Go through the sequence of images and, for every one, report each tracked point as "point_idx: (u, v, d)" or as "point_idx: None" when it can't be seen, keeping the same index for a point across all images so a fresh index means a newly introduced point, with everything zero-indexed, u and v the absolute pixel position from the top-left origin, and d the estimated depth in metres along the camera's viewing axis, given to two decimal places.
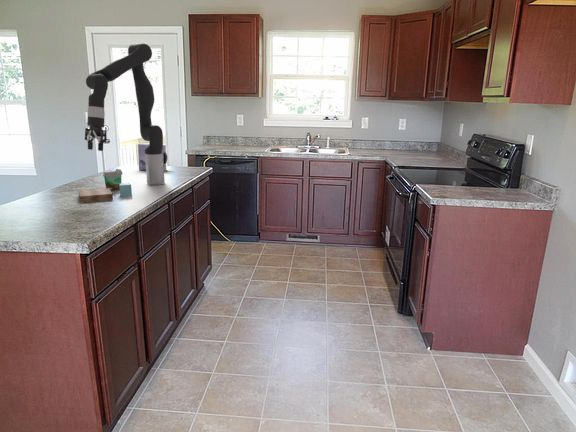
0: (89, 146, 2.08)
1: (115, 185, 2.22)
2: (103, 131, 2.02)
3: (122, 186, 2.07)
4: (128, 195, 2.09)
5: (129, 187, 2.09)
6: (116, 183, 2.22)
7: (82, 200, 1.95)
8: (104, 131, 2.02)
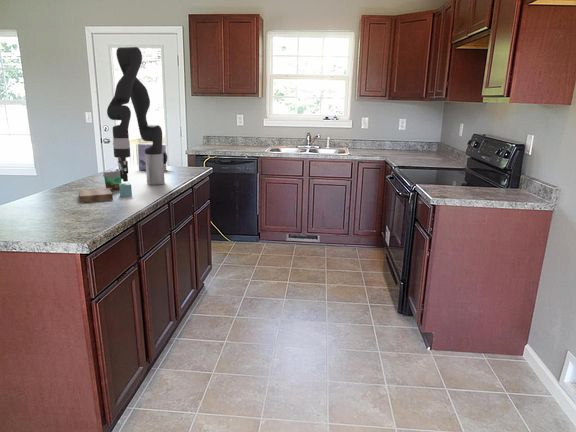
0: (121, 176, 2.11)
1: (115, 185, 2.22)
2: (123, 162, 2.00)
3: (122, 186, 2.07)
4: (128, 195, 2.09)
5: (129, 187, 2.09)
6: (116, 183, 2.22)
7: (82, 200, 1.95)
8: (125, 162, 2.01)
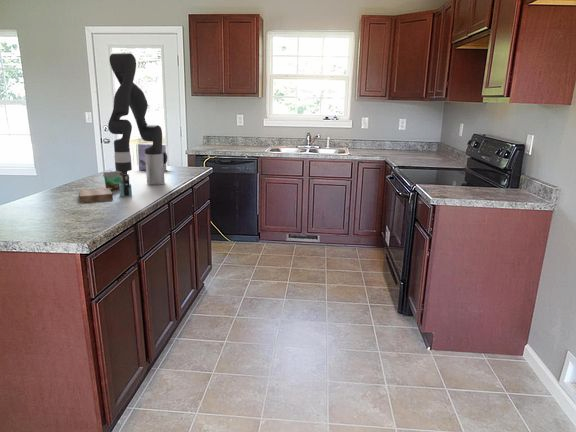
0: None
1: (115, 185, 2.22)
2: (125, 178, 2.03)
3: (122, 186, 2.07)
4: None
5: (129, 187, 2.08)
6: (116, 183, 2.22)
7: (82, 200, 1.95)
8: (126, 178, 2.03)
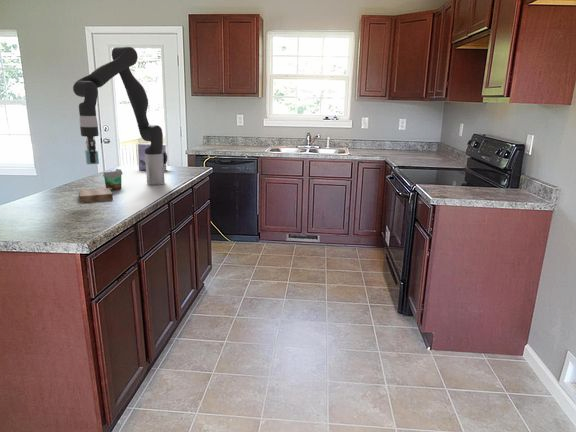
0: None
1: (115, 185, 2.22)
2: (91, 144, 1.92)
3: (88, 152, 1.96)
4: None
5: (95, 154, 1.97)
6: (116, 183, 2.22)
7: (82, 200, 1.95)
8: (92, 144, 1.92)
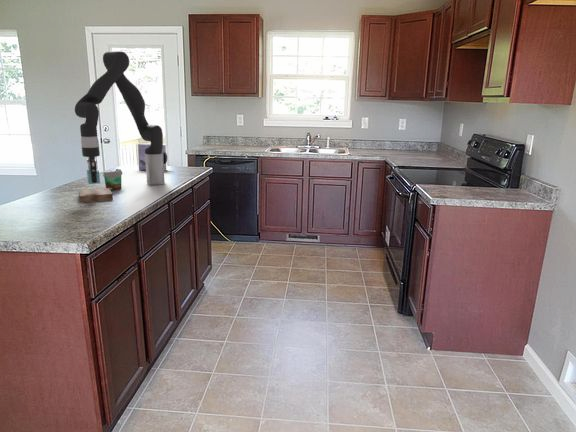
0: None
1: (115, 185, 2.22)
2: (92, 164, 1.94)
3: (89, 172, 1.98)
4: (96, 182, 2.00)
5: (97, 173, 2.00)
6: (116, 183, 2.22)
7: (82, 200, 1.95)
8: (93, 164, 1.94)
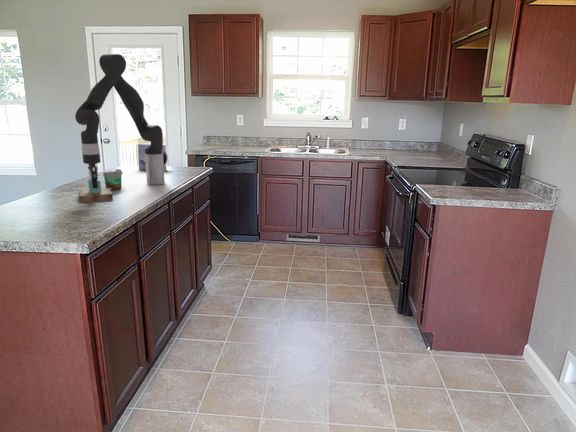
0: None
1: (115, 185, 2.22)
2: (92, 169, 1.95)
3: (90, 182, 1.99)
4: (97, 191, 2.02)
5: (98, 183, 2.01)
6: (116, 183, 2.22)
7: (82, 200, 1.95)
8: (94, 169, 1.95)
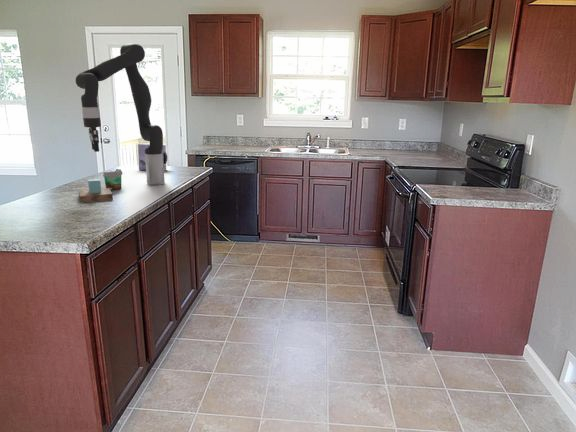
0: (93, 146, 2.09)
1: (115, 185, 2.22)
2: (94, 132, 1.98)
3: (90, 182, 1.99)
4: (97, 191, 2.02)
5: (98, 183, 2.01)
6: (116, 183, 2.22)
7: (82, 200, 1.95)
8: (95, 132, 1.98)
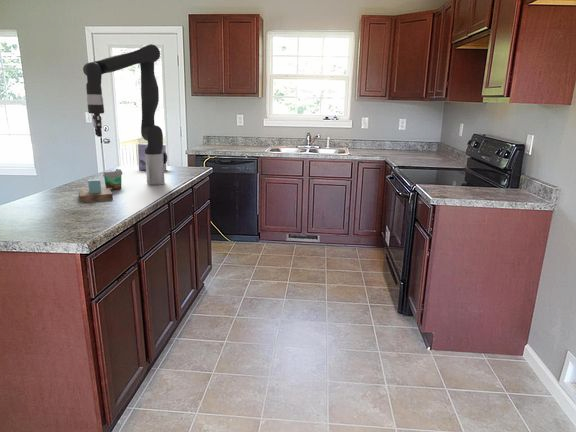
0: (96, 132, 2.21)
1: (115, 185, 2.22)
2: (97, 118, 2.10)
3: (90, 182, 1.99)
4: (97, 191, 2.02)
5: (98, 183, 2.01)
6: (116, 183, 2.22)
7: (82, 200, 1.95)
8: (98, 117, 2.10)
